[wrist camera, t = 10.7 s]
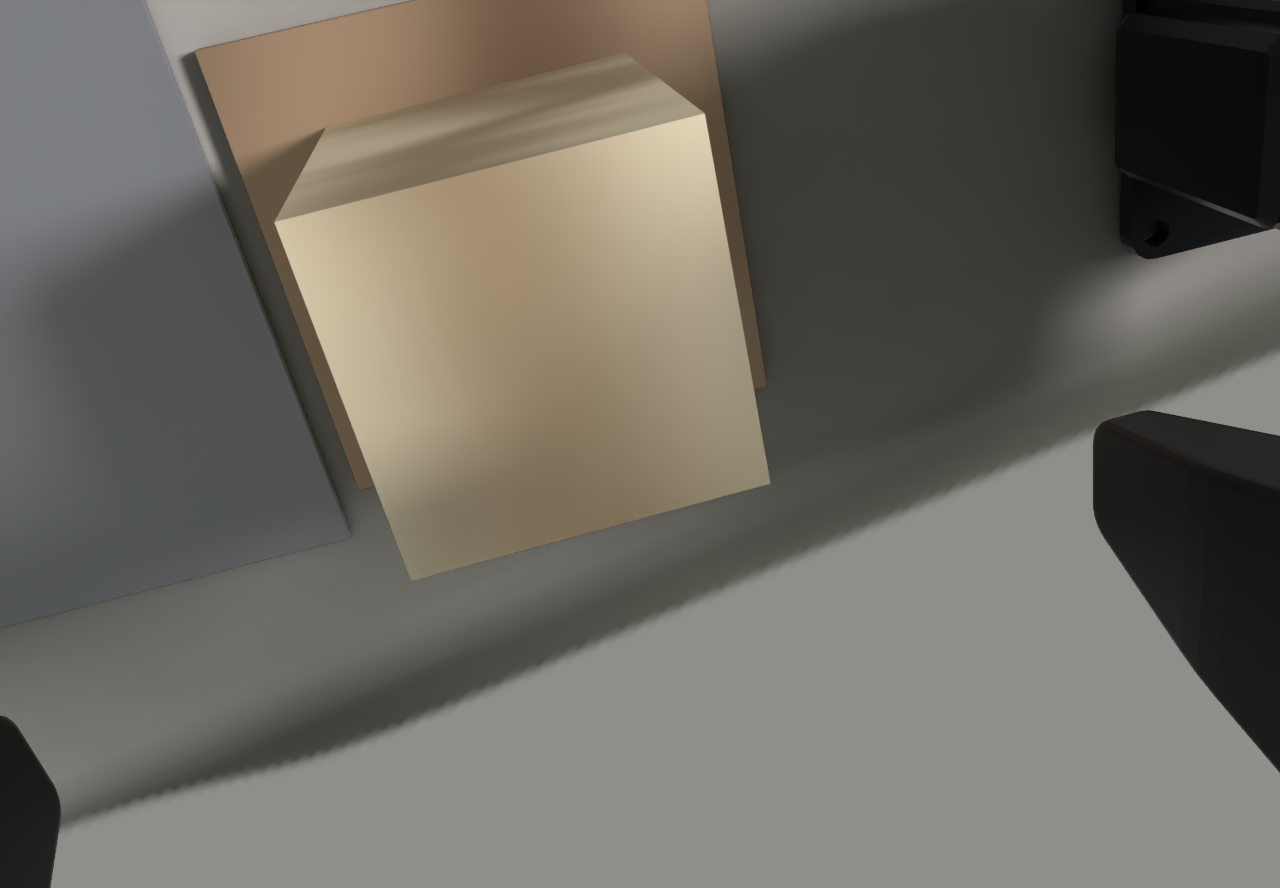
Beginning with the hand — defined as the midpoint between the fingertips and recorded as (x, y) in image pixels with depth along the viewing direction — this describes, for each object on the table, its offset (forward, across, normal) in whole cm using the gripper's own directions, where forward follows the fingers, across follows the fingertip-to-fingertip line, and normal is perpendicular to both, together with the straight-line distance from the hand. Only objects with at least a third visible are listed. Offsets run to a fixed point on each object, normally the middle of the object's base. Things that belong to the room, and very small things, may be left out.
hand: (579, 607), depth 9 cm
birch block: (+11, 0, 0) cm, 11 cm away
